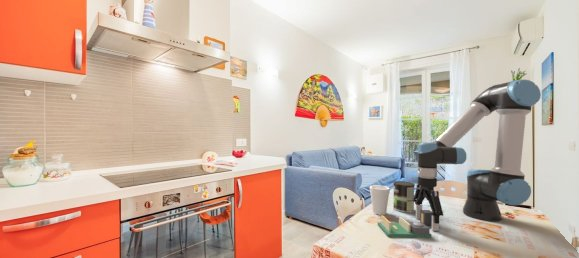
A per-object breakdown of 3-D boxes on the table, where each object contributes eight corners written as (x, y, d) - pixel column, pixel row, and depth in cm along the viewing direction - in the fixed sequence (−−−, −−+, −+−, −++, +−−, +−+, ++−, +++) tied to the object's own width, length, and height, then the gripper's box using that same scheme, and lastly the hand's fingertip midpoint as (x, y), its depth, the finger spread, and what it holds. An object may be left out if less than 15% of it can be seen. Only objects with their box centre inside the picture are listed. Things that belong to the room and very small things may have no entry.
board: (416, 225, 109) (416, 215, 109) (431, 237, 97) (431, 225, 97) (377, 225, 109) (377, 214, 109) (387, 236, 97) (388, 224, 97)
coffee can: (396, 212, 127) (396, 184, 127) (391, 206, 137) (391, 180, 137) (417, 213, 126) (417, 185, 126) (410, 207, 136) (410, 181, 136)
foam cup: (389, 211, 128) (390, 186, 128) (388, 217, 119) (389, 190, 120) (370, 208, 132) (370, 184, 132) (368, 214, 123) (368, 188, 124)
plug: (428, 223, 112) (428, 210, 112) (433, 226, 108) (433, 212, 108) (419, 223, 112) (420, 209, 112) (424, 226, 108) (424, 212, 108)
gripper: (406, 172, 123) (405, 214, 123) (434, 182, 98) (434, 236, 98) (421, 172, 123) (420, 214, 123) (453, 183, 98) (453, 236, 98)
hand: (426, 224), depth 110 cm, fingers open, 13 cm apart
